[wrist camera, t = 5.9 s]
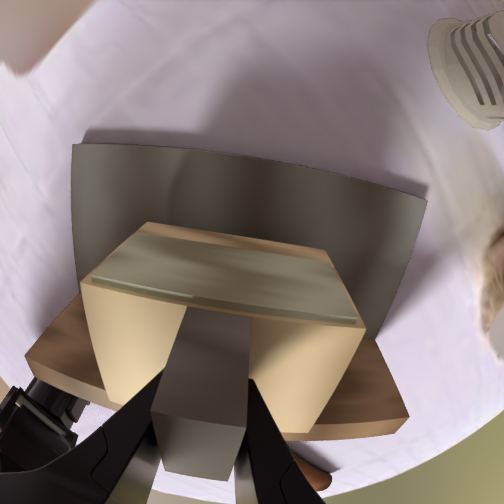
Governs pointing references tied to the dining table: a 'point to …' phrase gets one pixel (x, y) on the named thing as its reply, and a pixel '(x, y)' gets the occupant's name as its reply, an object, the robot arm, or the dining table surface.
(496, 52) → the french press
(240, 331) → the wooden block
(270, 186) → the wall board
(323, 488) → the sunglasses case
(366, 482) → the dining table surface
